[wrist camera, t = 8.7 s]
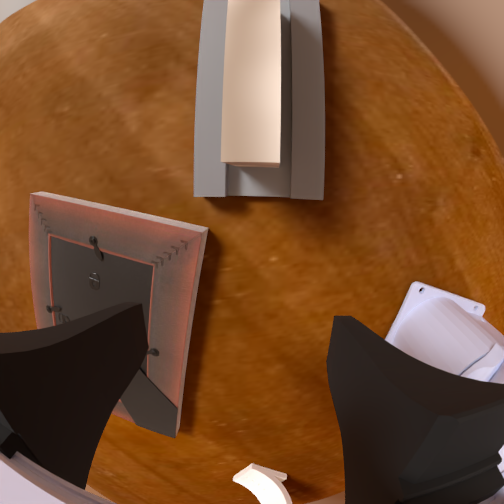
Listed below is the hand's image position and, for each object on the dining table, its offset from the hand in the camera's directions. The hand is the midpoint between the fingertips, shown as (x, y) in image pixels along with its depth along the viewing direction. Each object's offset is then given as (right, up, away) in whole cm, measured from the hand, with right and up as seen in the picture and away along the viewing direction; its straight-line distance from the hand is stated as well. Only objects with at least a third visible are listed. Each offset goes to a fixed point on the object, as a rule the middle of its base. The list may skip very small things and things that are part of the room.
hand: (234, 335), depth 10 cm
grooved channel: (+1, +14, +7) cm, 16 cm away
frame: (+1, +14, +6) cm, 16 cm away
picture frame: (-13, -3, +14) cm, 19 cm away
